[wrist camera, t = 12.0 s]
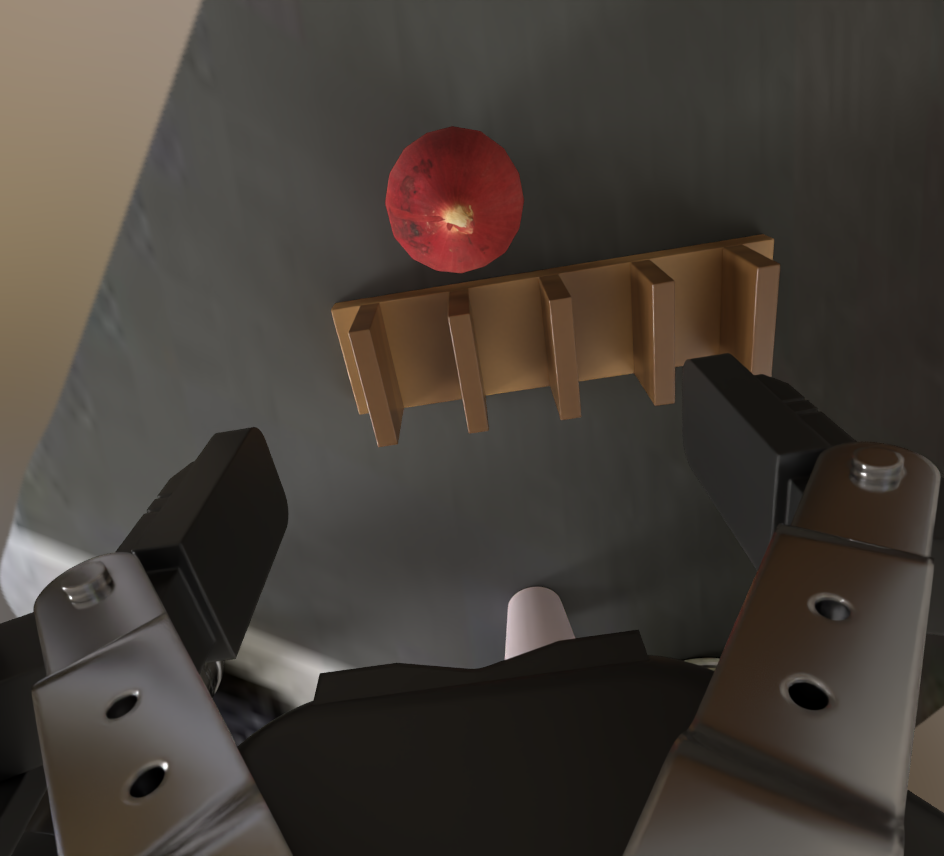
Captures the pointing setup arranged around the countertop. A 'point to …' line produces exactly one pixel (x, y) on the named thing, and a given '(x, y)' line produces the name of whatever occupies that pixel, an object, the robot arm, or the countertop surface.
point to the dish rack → (560, 330)
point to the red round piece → (454, 200)
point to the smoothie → (535, 621)
